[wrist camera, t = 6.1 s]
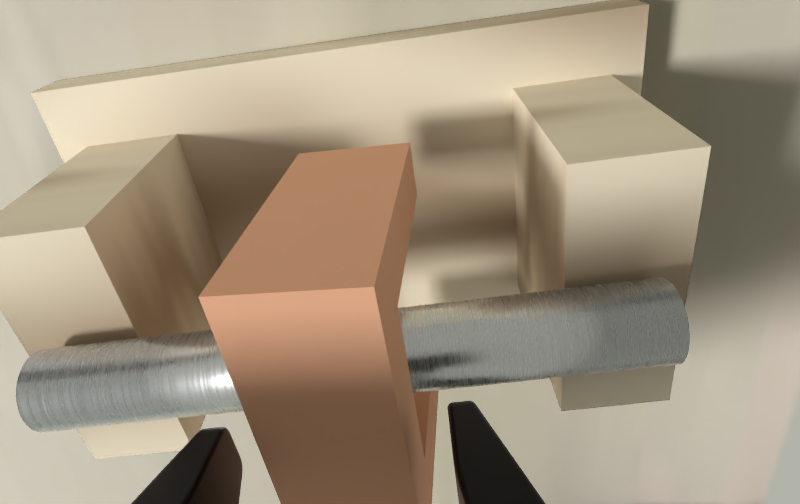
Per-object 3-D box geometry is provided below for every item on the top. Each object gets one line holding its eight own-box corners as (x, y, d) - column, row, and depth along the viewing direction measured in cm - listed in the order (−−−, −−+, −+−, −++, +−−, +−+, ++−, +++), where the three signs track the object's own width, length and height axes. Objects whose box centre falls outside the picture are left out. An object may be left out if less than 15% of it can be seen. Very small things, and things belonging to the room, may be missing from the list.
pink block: (440, 361, 14) (428, 558, 10) (350, 364, 15) (301, 555, 10) (410, 142, 11) (373, 286, 7) (298, 153, 12) (198, 297, 7)
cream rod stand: (608, 290, 18) (696, 441, 13) (172, 340, 19) (89, 501, 14) (629, -2, 14) (780, 46, 8) (56, 80, 15) (-136, 172, 9)
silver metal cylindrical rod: (647, 327, 11) (682, 383, 10) (84, 389, 12) (43, 450, 11) (655, 261, 10) (694, 312, 9) (50, 332, 11) (2, 389, 10)
